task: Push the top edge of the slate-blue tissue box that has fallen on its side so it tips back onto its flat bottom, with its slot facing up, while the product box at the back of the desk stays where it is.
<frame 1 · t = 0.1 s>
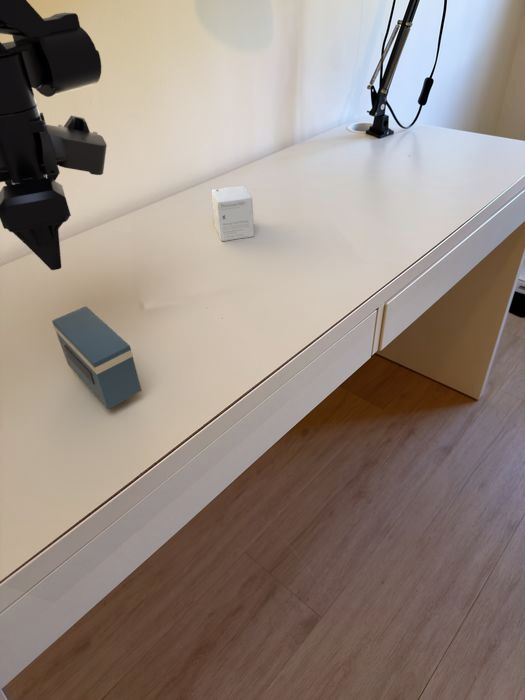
hand: (53, 250, 61), 14 cm above the table, tool pointing down, fingers open, 9 cm apart
product box: (234, 233, 95), on the table
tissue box: (96, 355, 63), point 3 cm above the table
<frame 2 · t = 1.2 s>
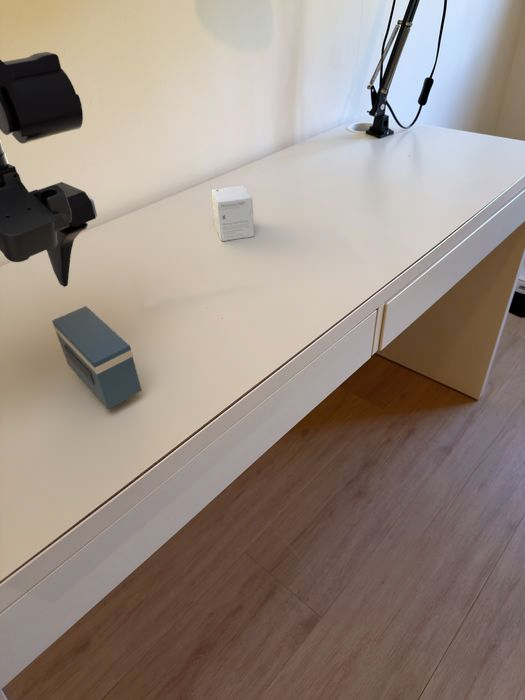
hand: (26, 303, 57), 12 cm above the table, tool pointing down, fingers open, 9 cm apart
nothing on the table moved.
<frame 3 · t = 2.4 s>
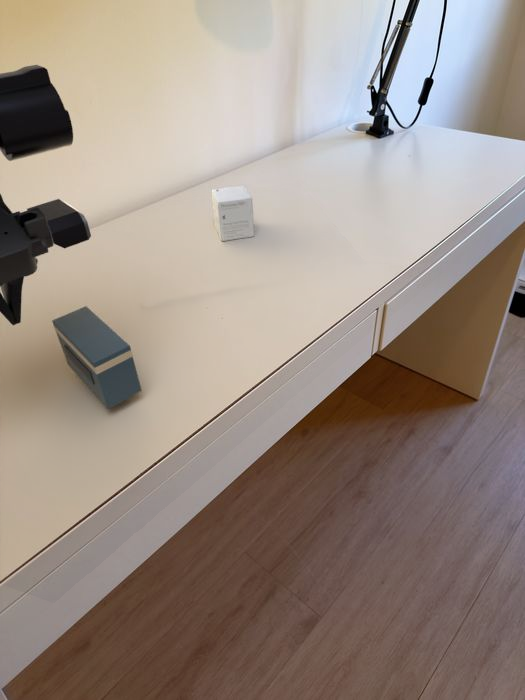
hand: (15, 322, 55), 12 cm above the table, tool pointing down, fingers closed
nothing on the table moved.
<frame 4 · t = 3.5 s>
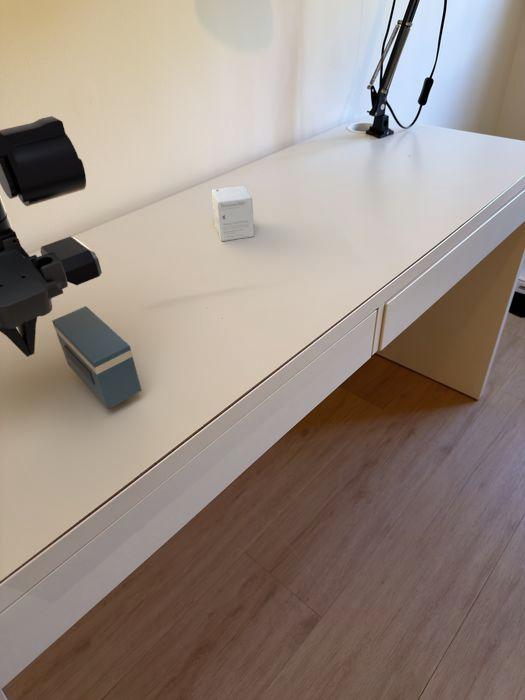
hand: (29, 353, 57), 8 cm above the table, tool pointing down, fingers closed
nothing on the table moved.
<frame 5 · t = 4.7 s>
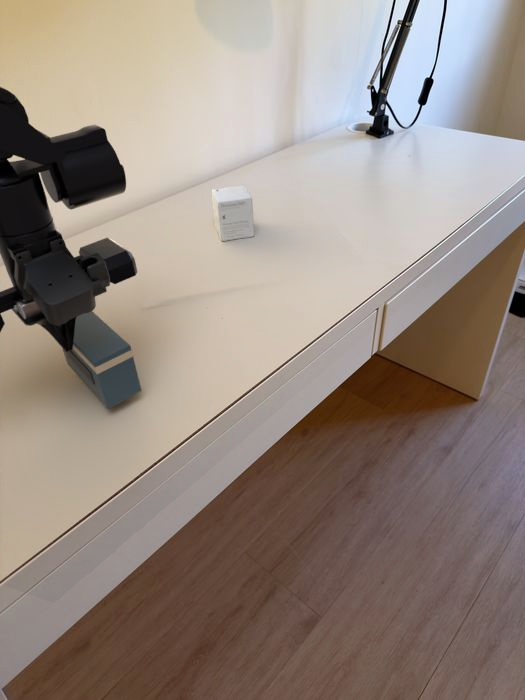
hand: (67, 349, 60), 6 cm above the table, tool pointing down, fingers closed
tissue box: (96, 355, 63), point 3 cm above the table, touching gripper
everything else where it was.
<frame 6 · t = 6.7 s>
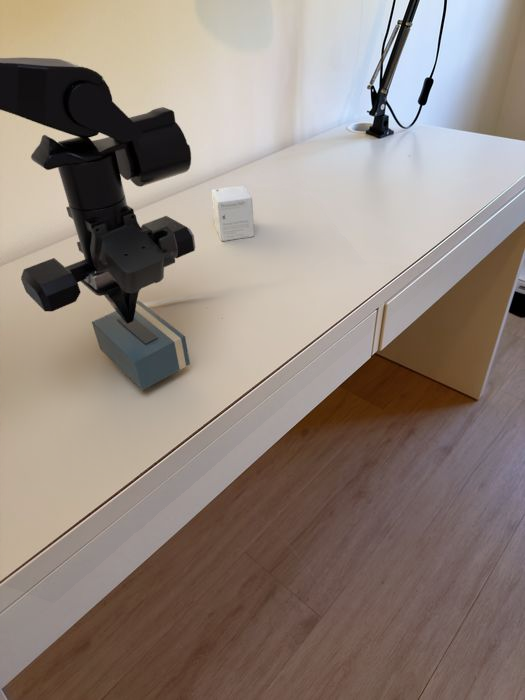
hand: (128, 321, 64), 6 cm above the table, tool pointing down, fingers closed
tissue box: (140, 343, 67), point 2 cm above the table, tilted 90°
everything else where it was.
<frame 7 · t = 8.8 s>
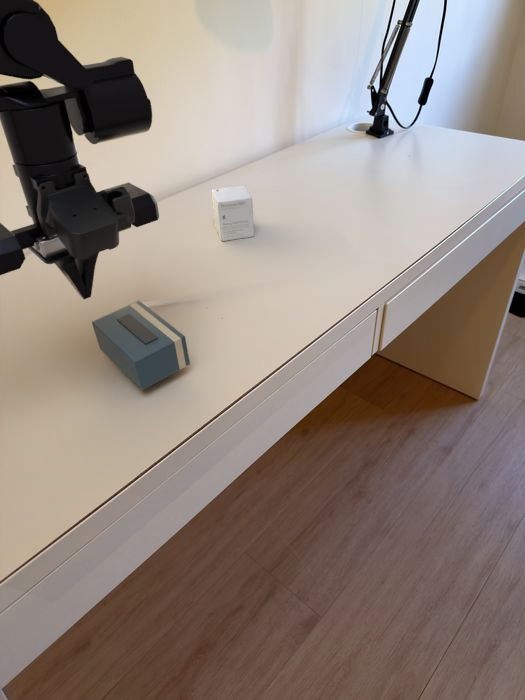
hand: (85, 297, 59), 12 cm above the table, tool pointing down, fingers closed
nothing on the table moved.
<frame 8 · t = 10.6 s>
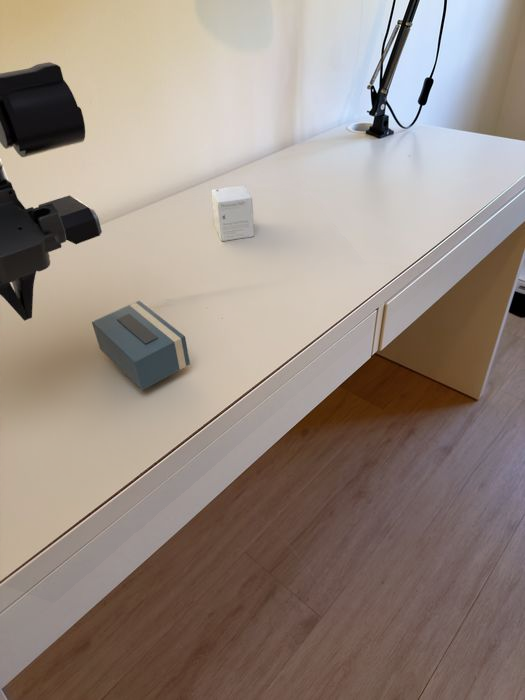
hand: (26, 317, 55), 12 cm above the table, tool pointing down, fingers closed
nothing on the table moved.
at the end: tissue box tilted 90°; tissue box point 2.3 cm above the table; product box moved 0.2 cm from its start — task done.
